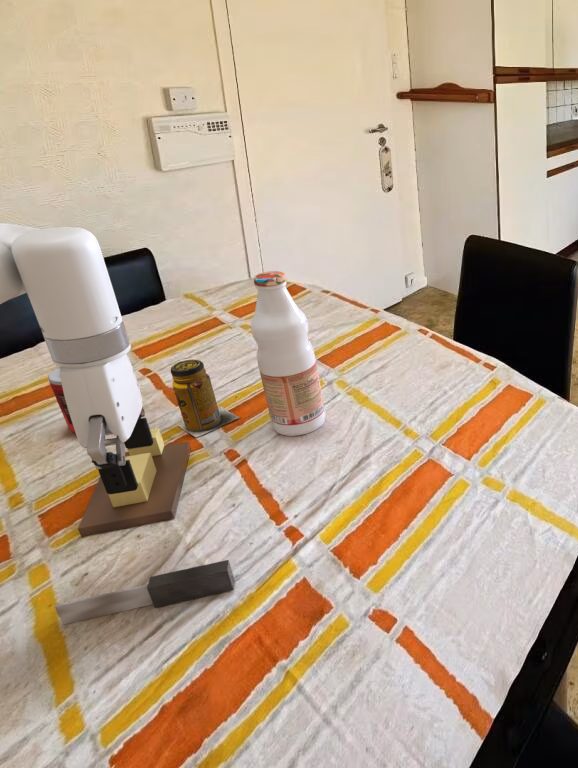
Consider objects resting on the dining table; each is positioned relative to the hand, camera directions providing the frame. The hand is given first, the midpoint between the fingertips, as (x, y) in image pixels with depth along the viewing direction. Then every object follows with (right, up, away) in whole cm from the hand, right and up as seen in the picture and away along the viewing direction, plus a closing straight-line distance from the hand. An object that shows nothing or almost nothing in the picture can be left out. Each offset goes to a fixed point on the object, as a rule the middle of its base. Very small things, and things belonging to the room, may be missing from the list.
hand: (132, 467), depth 77 cm
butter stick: (-10, -6, +17) cm, 21 cm away
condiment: (-8, +3, +37) cm, 38 cm away
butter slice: (-13, -1, +26) cm, 29 cm away
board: (-11, -6, +20) cm, 23 cm away
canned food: (-29, +3, +37) cm, 47 cm away
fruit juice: (+9, +3, +36) cm, 37 cm away
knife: (+3, -17, -1) cm, 17 cm away
